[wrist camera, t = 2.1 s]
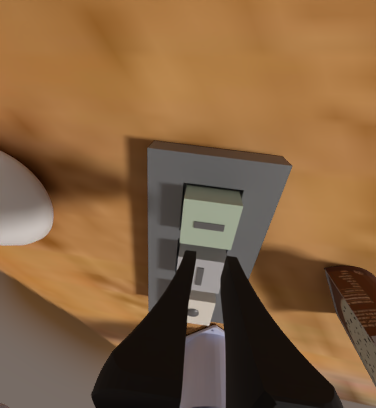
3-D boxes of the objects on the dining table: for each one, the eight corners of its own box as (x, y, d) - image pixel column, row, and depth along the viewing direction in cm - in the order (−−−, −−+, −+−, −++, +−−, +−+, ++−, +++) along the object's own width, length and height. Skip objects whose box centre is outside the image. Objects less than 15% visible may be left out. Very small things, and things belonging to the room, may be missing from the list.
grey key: (217, 274, 22) (218, 294, 20) (178, 268, 22) (174, 288, 20) (225, 244, 20) (227, 264, 18) (181, 238, 20) (178, 257, 18)
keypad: (229, 307, 28) (230, 324, 26) (152, 296, 29) (148, 312, 27) (282, 156, 17) (292, 165, 15) (154, 140, 17) (147, 147, 15)
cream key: (209, 306, 25) (209, 326, 23) (174, 301, 25) (171, 321, 23) (215, 283, 23) (215, 304, 21) (177, 278, 23) (173, 298, 21)
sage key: (228, 232, 19) (231, 251, 17) (182, 226, 19) (179, 243, 17) (239, 191, 17) (243, 207, 15) (187, 184, 17) (183, 199, 15)
